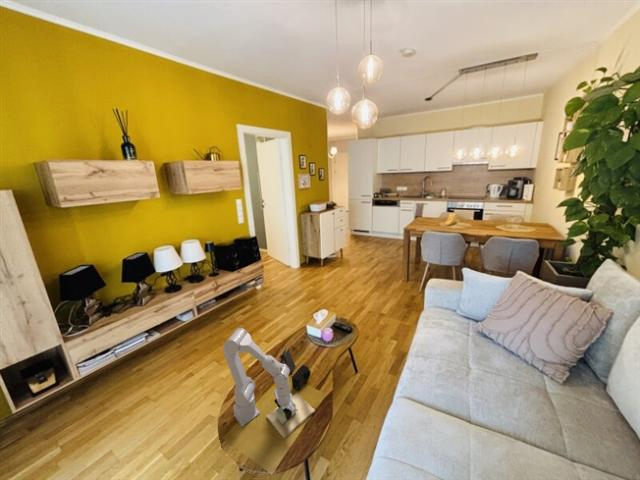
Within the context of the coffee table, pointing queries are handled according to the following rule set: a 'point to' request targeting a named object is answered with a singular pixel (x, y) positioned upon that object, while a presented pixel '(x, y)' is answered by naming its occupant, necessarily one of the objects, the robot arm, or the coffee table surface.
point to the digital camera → (300, 377)
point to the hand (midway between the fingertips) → (285, 414)
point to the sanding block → (282, 415)
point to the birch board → (301, 415)
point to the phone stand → (288, 360)
